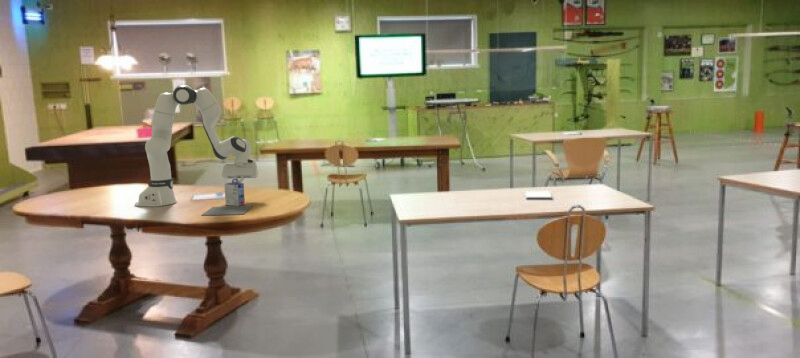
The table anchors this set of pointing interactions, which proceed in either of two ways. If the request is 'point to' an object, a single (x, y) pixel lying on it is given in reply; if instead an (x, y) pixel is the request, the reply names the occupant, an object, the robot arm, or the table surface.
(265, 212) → the table surface
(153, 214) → the table surface
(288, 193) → the table surface
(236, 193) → the ink cartridge box
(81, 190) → the table surface
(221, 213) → the mat
